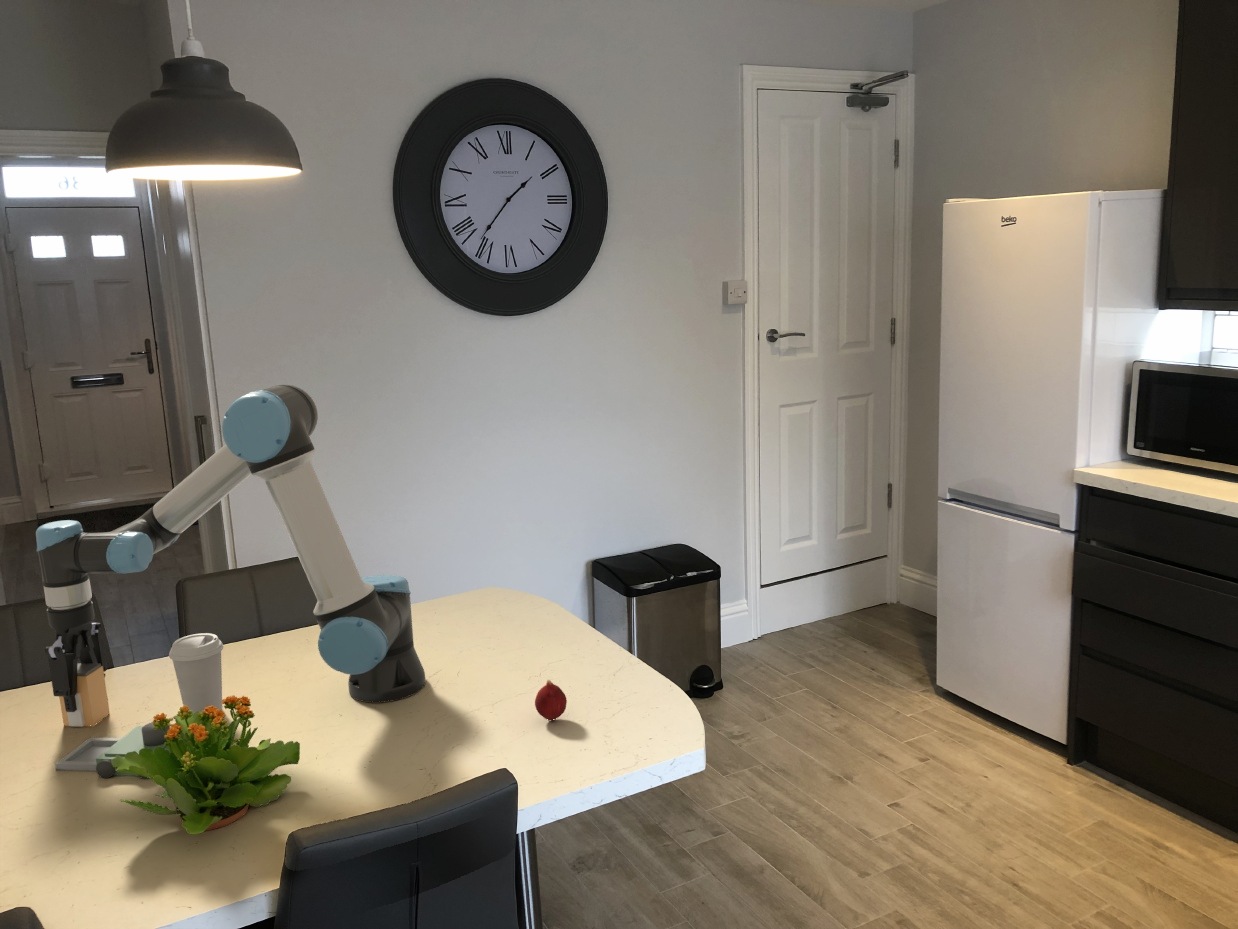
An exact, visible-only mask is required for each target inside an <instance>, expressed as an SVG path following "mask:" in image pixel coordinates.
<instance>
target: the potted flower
mask: <svg viewBox="0 0 1238 929" xmlns="http://www.w3.org/2000/svg"><path fill="white" fill-rule="evenodd" d="M222 705H223V707H224V709H228V710H229V709H230V710H229V712H230V713H229V714H230V716H231V718H232V721H231V722H230V724H229V725H228V723H227V719H224V718H225V711H223V709H222V710H219V709H218V707H216V708H215V707H214V706H208V707H206V708H204V709H205V710H203V711H202V712H200V711H196V712H194V714H193V713H192V710H190V711H189V709H190V708H189V707H188V706H187V705H184V707H183V706H180V707H179V708H178V709H179V710H178V711H177V713H176V715H174V716H173V717H170V718H167V715H168V714H165V713H164V712H161V714H155V715H154V716H153V720H152V722H153V725H154V727H153V728H154V730H158V729H161V730H163V732H164V734H165V736H164V738H166V739H167V742H165V743H164V744H165V745H164V746H167V747H168V748H169V750H170V751H168V750H165V748H162V747H156V748H155V750H154V752H153V751H152V749H151V748H149V749H147V748H143V749H140V750H139V754H138V753H137V752H136V751H133V752H128V753H127V754H125V757H124V758H123V757H121V756H118V755H116V756H115V758H113V759H112V760H111V763H112V766H113V768H116V767H117V770H116V769H115V770H116V771H117V772H126V773H133V774H137V775H141V776H144V777H147V778H148V779H150V780H151V781H153V782H154V783H155V784H157V785H158V786H161V787H162V788H164V789H165V791H164V794H162V795H161V794H160V795H159V794H155V796H158V797H160V798H163V799H165V798H167V797H169V798H170V799H171V801H172V802H173V804H174V805H175V806H176V807H175V809H174V810H172V809H170V808H169V807H167V806H164V807H163V806H162V805H159V804H158V803H155V804H153V803H152V802H151V801H147V802H145V801H141V800H138V801H136V800H133V799H132V800H128V799H122V798H121V799H120V800H119V802H123V803H126V804H129V805H130V806H133V807H135V808H139V809H141V810H142V811H146V812H148V813H151V814H156V815H161V816H172V815H173V816H174V815H179V817H180V819H181V822H182V823H181V827H182V828H183V829H185V832H186V833H187V834H189V835H199V834H202V833H204V832H205V831H209V830H217V829H218V828H222V827H225V826H228V825H229V824H232V823H234V822H235V821H237V820H239V819H240V818H242V817H243V816H244V815H246V813H247V811H248V810H249V809H248V808H249V806H250V807H254V808H260V807H261V806H267V805H268V804H270V802H274V801H276V800H278V799H279V796H282V795H283V794H284V791H285V790H286V789H287V788H288V786H289V785H290V783H291V781H292V776H290V775H288V774H286V773H283V774H282V773H281V774H280V775H279V774H278V773H275V774H273V775H272V774H271V773H272V772H273V771H275V770H276V769H278V768H279V767H283V766H289V765H298V764H299V761H300V756H301V755H300V754H301V752H300V750H301V743H300V742H298V741H293V740H290V741H288V742H284V741H283V740H277V741H276V742H271V740H272V738H270V737H269V738H267V739H262V740H261V741H260V742H259V743H258V746H250V745H249V744H250V741H251V740H252V739H253V736H254V735H255V733H256V732H257V730H258V729H259V727H258V726H257V727H254V728H253V730H252V729H251V728H252V727H251V725H252V721H251V720H250V719H253V718H254V717H255V716H256V714H255V713H254V711H253V710H250V709H251V706H252V702H251V698H249V696H244V695H242V696H241V697H237V696H235V695H230V696H229V695H228V696H226V697H225V698H224V699H223V698H222ZM188 711H189V712H188ZM172 721H175V723H173V724H172V723H171V722H172ZM239 725H240V726H242V730H241V734H240V737H239V738H235V736H236V732H237V729H238V727H239ZM161 726H162V728H161ZM167 726H171V727H170V729H169V730H168V731H167V734H166V732H165V730H164V729H165V728H166V727H167ZM249 727H250V728H249ZM247 728H248V730H247ZM251 730H252V731H251ZM234 738H235V739H234ZM178 739H181V740H178ZM177 758H178V759H177Z"/></svg>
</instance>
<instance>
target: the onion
mask: <svg viewBox="0 0 1238 929" xmlns="http://www.w3.org/2000/svg"><path fill="white" fill-rule="evenodd" d="M567 702H568V701H567V695H566V694H565V693H564V691H563V690H562V688H560V686H558V685H557V684H554V683H553V682H552V681H551V679H547V680H546V684H545V685H544V686H542V687H541V688H540V689H539V690H538V692H537V693H536V696H535V699H534V706H535V710H536V711H537V713H538V715H540V716H541V717H542V718H544V720H545V719H546V720H547V719H548V720H547V721H549V720H553V719H555V720H556V718H557V719H559V718H560V717H561V716H562V715H563V714H564V713H565V711H566V709H567Z"/></svg>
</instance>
